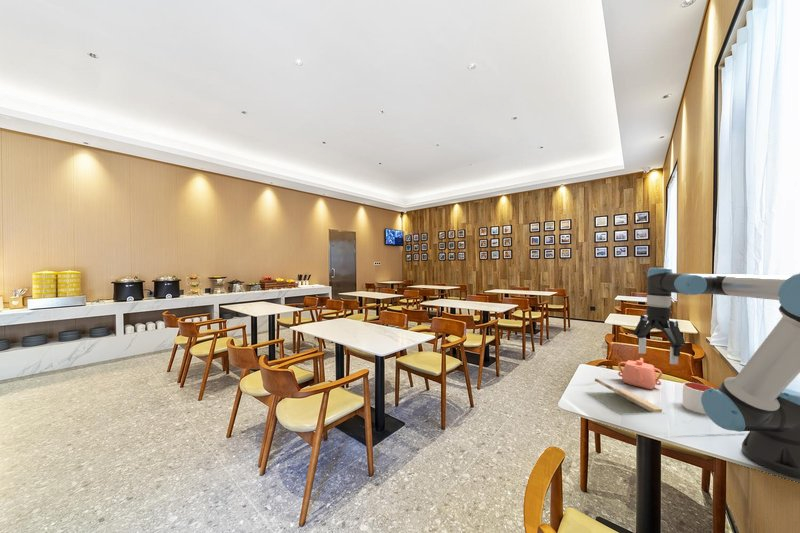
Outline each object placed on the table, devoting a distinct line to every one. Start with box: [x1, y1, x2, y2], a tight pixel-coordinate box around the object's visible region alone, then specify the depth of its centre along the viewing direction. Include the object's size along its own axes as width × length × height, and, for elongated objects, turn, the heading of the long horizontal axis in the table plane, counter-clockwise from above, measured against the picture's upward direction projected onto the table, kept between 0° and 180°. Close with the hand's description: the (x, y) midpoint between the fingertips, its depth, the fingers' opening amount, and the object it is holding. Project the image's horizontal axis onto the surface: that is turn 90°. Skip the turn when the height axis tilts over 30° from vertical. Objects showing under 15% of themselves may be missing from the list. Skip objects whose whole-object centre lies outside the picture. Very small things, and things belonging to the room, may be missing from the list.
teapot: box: [617, 357, 663, 390], centre depth 149 cm, size 15×17×13 cm
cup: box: [681, 381, 713, 415], centre depth 125 cm, size 10×10×10 cm
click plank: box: [594, 378, 653, 412], centre depth 130 cm, size 18×12×1 cm, turn 5°
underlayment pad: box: [585, 389, 666, 416], centre depth 130 cm, size 20×19×2 cm
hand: (657, 358), depth 123 cm, fingers open, 13 cm apart
